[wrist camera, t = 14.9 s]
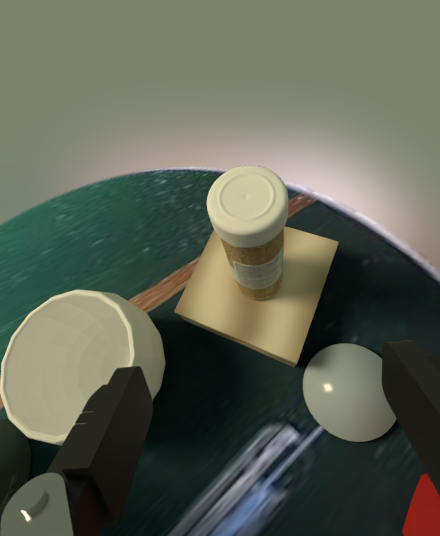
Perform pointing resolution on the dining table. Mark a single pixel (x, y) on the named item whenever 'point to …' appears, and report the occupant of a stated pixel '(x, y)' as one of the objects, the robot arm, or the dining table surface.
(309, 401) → the pale grey dome
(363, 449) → the dining table surface
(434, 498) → the french fries
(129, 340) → the cup
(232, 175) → the sprinkles bottle
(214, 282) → the birch block
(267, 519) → the dining table surface
